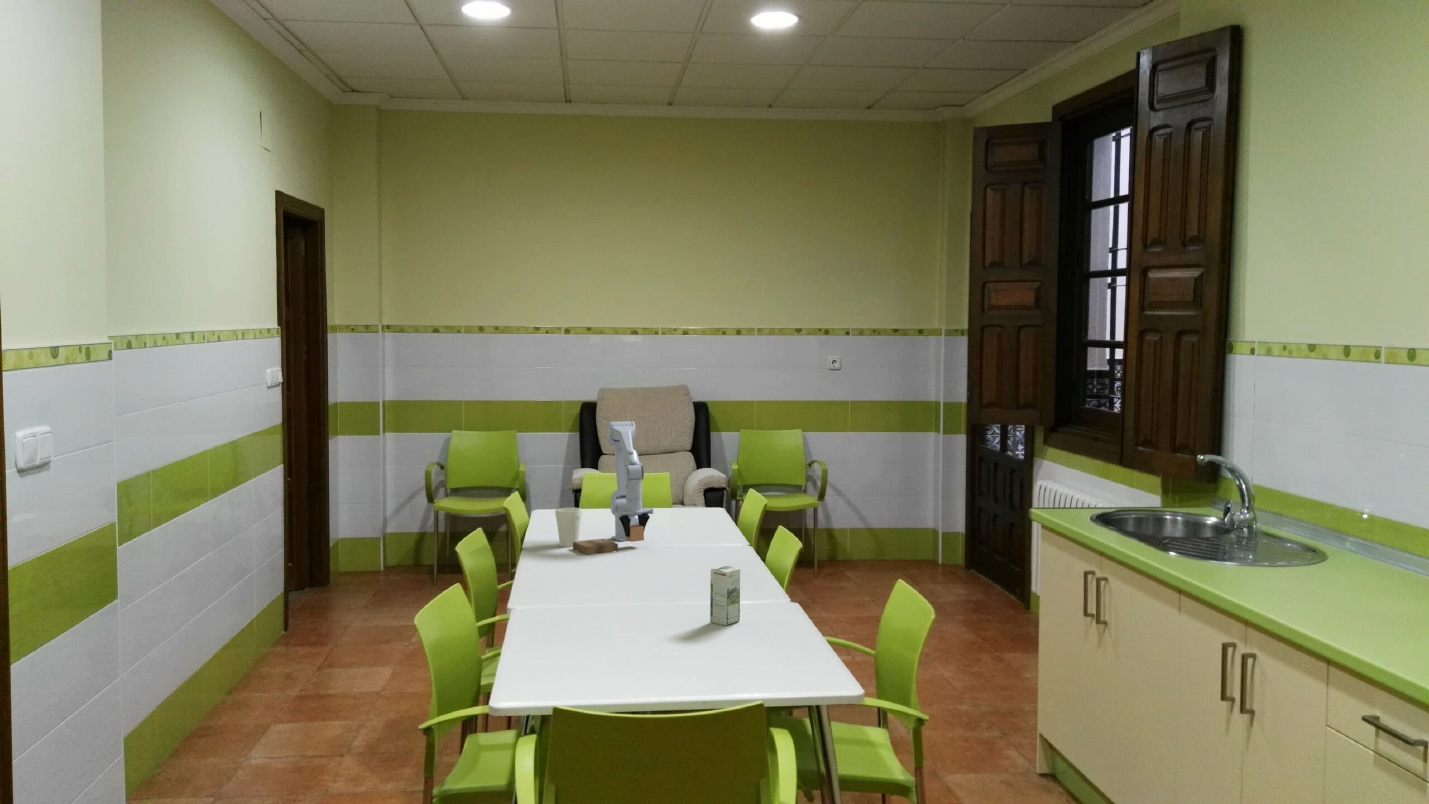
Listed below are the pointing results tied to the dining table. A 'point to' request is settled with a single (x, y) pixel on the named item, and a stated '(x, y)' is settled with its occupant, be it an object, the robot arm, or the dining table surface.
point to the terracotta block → (636, 533)
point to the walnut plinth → (595, 546)
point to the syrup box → (725, 595)
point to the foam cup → (568, 525)
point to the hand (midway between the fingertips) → (634, 535)
